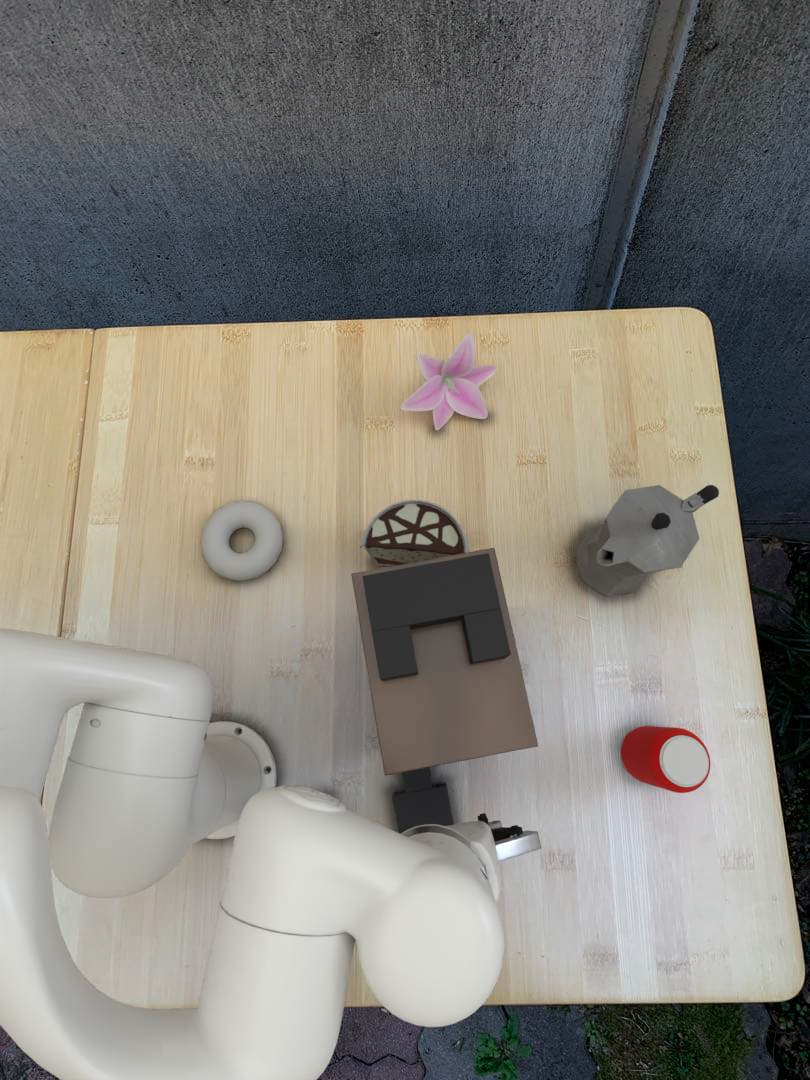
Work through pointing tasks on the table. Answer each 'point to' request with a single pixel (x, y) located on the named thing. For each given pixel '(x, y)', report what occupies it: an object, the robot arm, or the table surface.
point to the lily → (451, 385)
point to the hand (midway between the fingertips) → (432, 841)
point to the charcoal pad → (421, 801)
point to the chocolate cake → (413, 534)
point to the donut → (252, 560)
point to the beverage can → (666, 758)
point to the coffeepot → (640, 538)
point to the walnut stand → (446, 692)
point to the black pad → (434, 611)
